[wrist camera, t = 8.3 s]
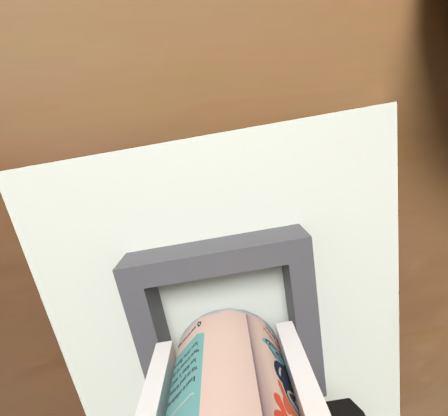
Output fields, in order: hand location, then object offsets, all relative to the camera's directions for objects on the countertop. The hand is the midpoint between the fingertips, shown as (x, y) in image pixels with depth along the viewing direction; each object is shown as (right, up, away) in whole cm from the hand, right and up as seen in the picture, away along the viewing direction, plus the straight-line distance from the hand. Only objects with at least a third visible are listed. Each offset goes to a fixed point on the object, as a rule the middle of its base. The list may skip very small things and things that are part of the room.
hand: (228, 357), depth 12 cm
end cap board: (0, +1, +4) cm, 4 cm away
